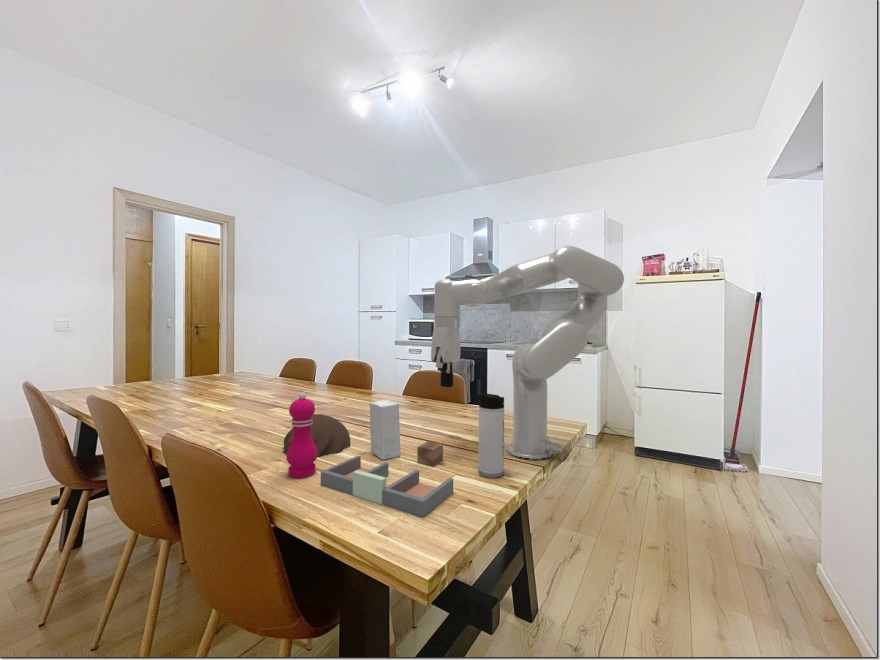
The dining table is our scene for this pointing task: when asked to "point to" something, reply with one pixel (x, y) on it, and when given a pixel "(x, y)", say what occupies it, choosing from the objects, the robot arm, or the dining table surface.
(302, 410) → the pepper mill
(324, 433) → the decorative dome
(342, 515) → the dining table surface
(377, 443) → the skincare box
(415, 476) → the bay rack
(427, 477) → the dining table surface
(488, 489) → the dining table surface
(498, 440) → the travel mug
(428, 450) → the walnut block
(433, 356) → the robot arm
